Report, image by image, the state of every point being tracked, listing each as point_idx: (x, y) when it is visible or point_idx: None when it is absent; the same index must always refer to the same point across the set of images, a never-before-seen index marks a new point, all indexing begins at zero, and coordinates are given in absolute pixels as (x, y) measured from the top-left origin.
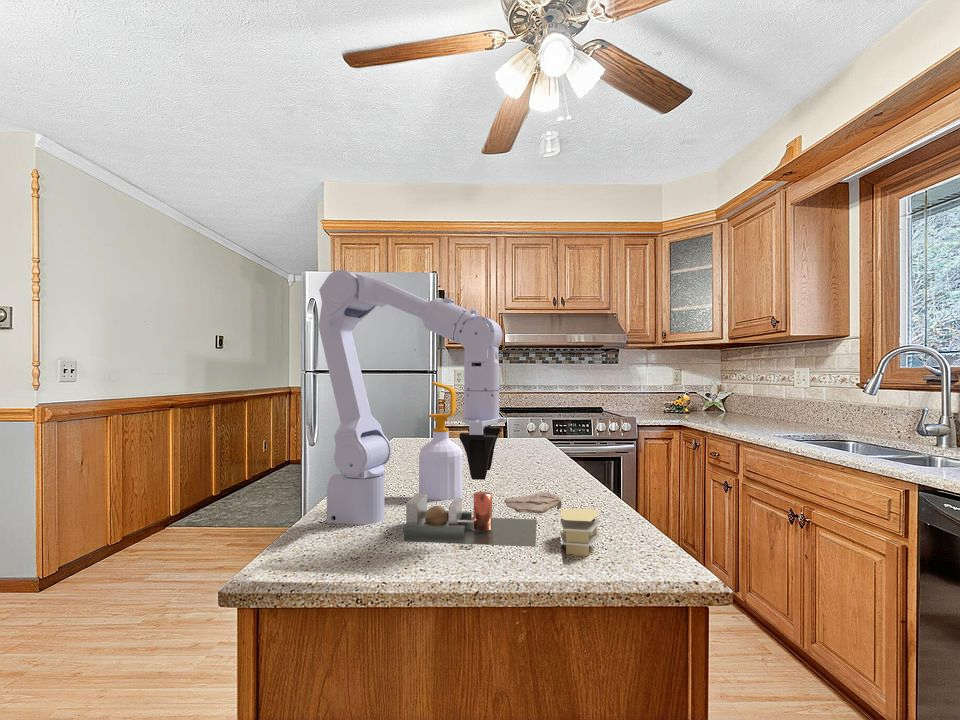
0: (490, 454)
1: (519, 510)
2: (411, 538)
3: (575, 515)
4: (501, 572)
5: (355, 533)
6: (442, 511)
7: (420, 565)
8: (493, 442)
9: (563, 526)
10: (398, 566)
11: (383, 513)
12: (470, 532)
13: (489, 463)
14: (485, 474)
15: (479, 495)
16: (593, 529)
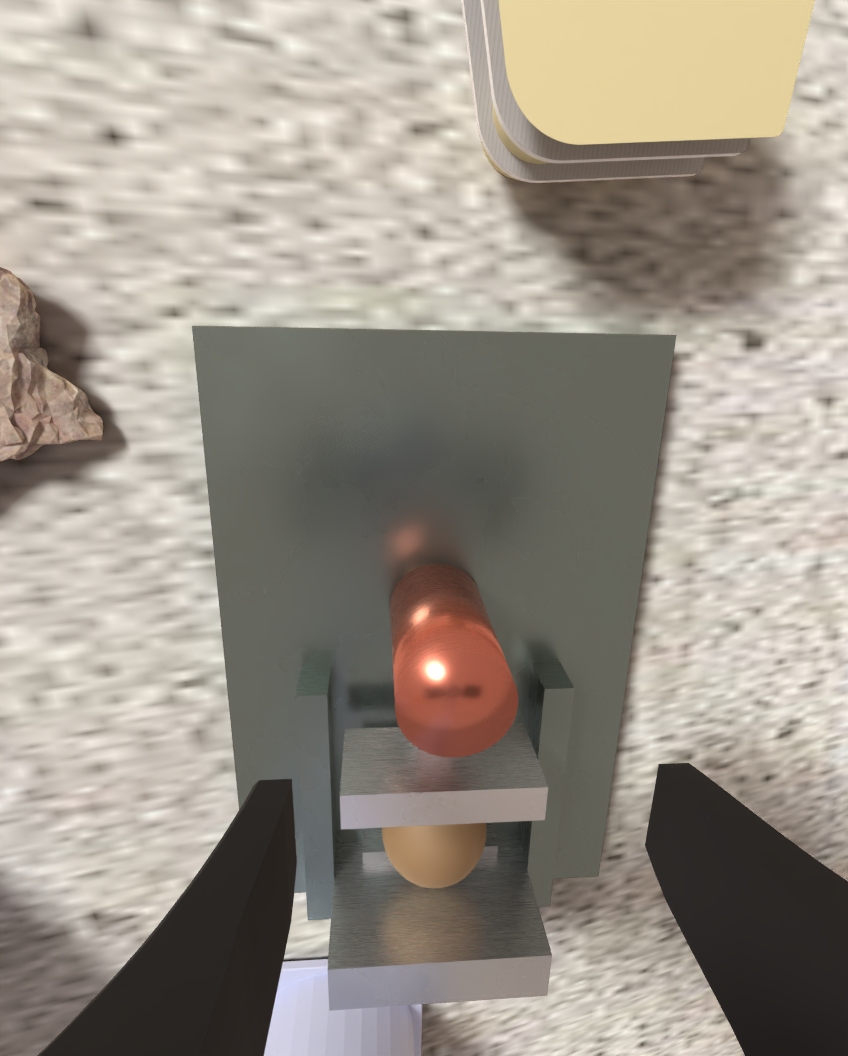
0: (254, 903)
1: (33, 439)
2: (571, 839)
3: (679, 23)
4: (842, 472)
5: (428, 1006)
6: (461, 825)
7: (747, 744)
8: (212, 1039)
9: (703, 150)
10: (751, 802)
11: (328, 1013)
12: None
13: (283, 828)
14: (719, 787)
15: (504, 718)
16: None
